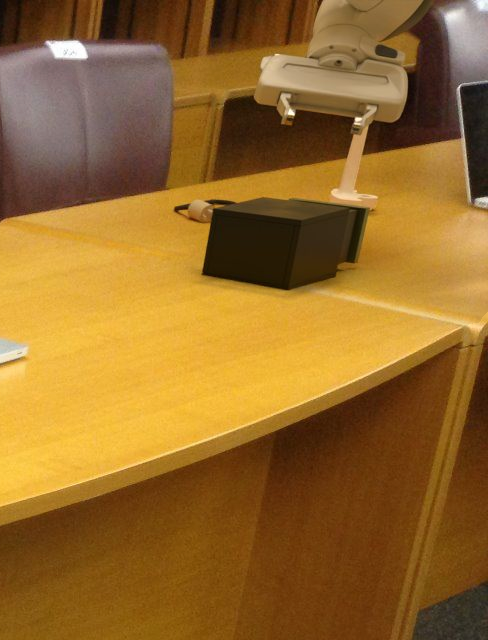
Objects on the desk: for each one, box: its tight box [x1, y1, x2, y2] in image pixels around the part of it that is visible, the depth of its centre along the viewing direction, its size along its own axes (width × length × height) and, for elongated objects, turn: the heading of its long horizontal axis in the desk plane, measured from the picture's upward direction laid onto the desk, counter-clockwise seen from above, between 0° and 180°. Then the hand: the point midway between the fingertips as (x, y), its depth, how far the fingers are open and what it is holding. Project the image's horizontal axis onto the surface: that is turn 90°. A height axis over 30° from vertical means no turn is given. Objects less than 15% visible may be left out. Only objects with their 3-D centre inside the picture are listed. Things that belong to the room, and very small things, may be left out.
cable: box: [173, 198, 237, 223], centre depth 260 cm, size 16×16×4 cm
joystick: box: [328, 124, 379, 212], centre depth 263 cm, size 11×8×20 cm
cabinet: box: [201, 196, 350, 291], centre depth 214 cm, size 15×13×10 cm
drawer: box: [288, 197, 370, 265], centre depth 221 cm, size 18×11×8 cm, turn 132°
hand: (322, 126), depth 219 cm, fingers open, 8 cm apart
